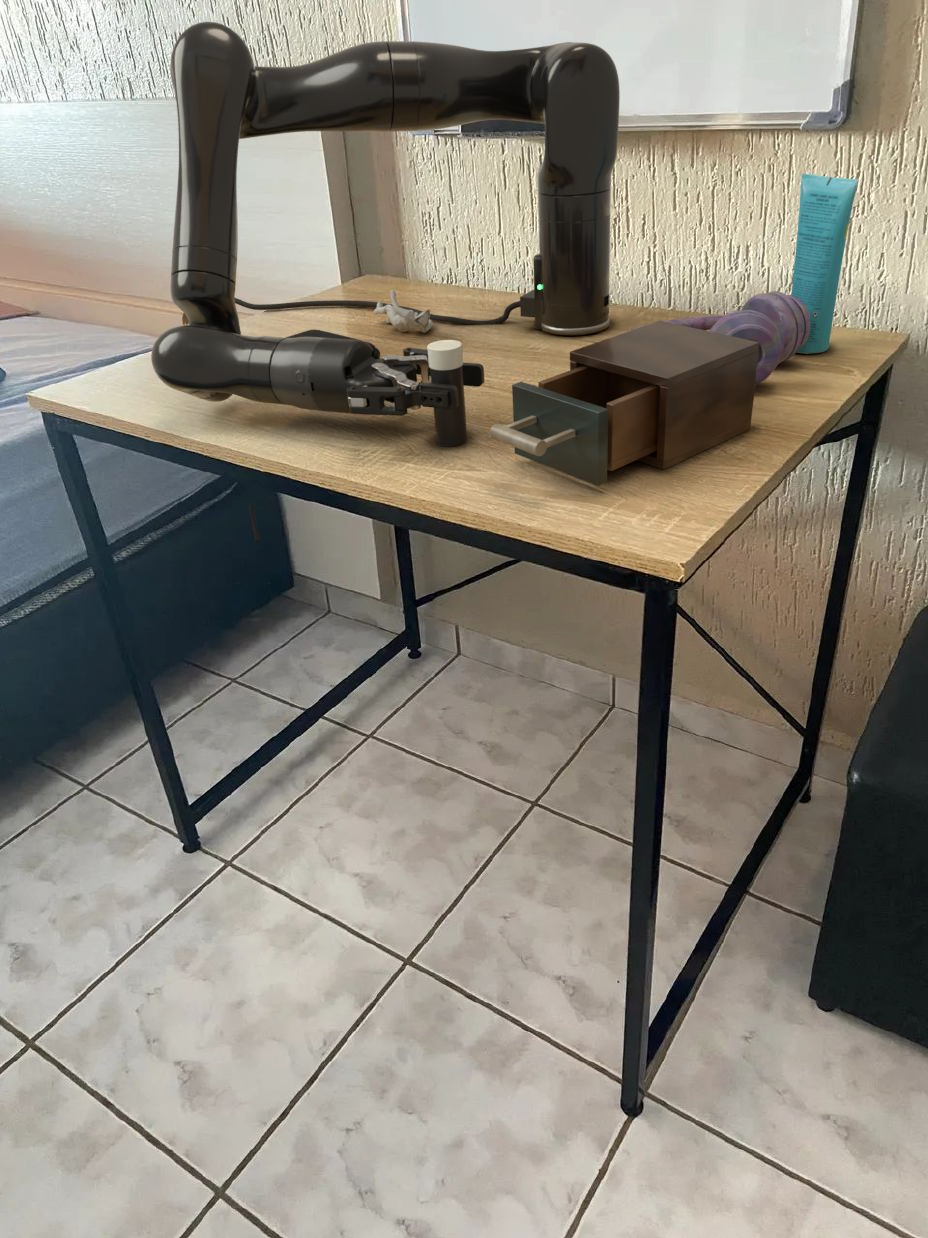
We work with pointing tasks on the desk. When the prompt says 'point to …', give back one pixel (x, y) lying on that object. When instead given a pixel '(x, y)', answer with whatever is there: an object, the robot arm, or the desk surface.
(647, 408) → the drawer
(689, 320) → the headphones
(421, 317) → the grey animal figurine
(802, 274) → the tube
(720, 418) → the cabinet
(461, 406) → the bottle
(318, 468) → the desk surface
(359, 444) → the desk surface
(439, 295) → the desk surface
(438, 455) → the desk surface
